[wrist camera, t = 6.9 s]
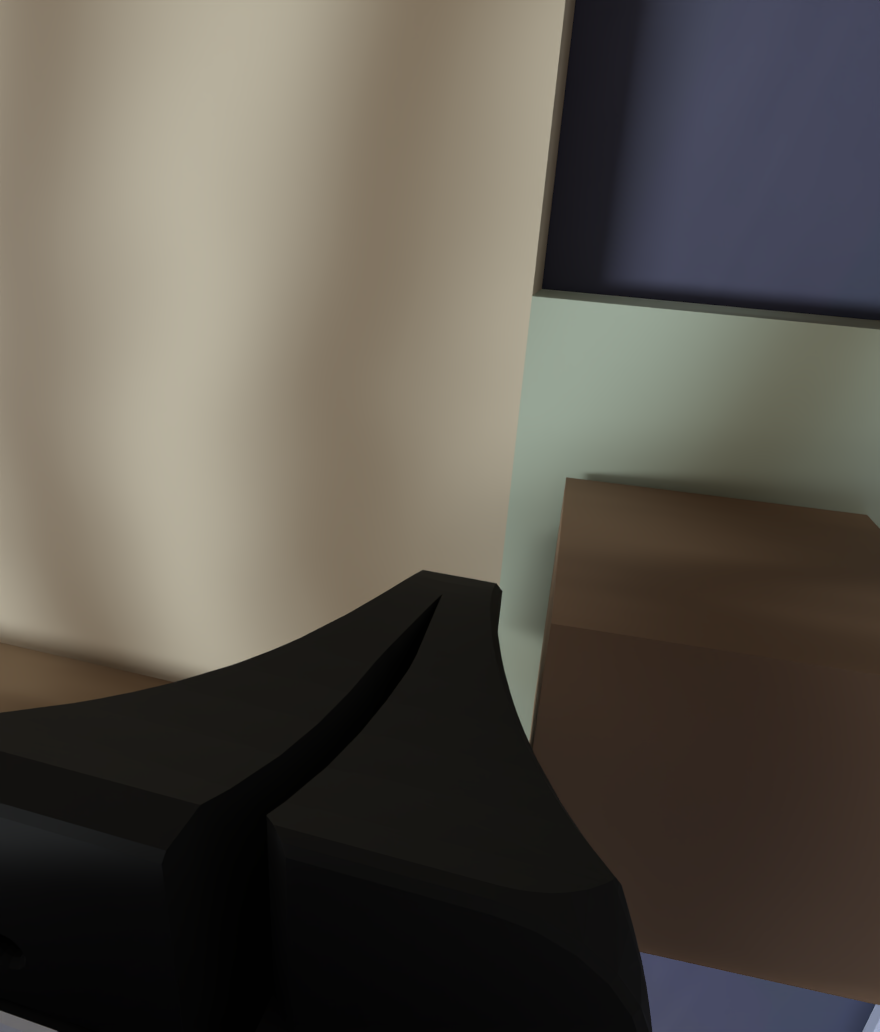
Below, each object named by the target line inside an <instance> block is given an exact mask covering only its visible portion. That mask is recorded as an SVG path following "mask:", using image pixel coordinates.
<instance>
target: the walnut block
mask: <svg viewBox="0 0 880 1032" xmlns="http://www.w3.org/2000/svg"><path fill="white" fill-rule="evenodd" d="M529 743H530V745H531V747H532V750H533V752H534V754H535V756H536V758H537V760H538V762H539V764H540V765H541V767H542V769H543V771H544V773H545V774H546V776H547V778H548V780H549V782H550V784H551V785H552V787H553V789H554V791H555V793H556V794H557V796H558V798H559V800H560V802H561V803H562V805H563V806H564V808H565V809H566V811H567V812H568V814H569V815H570V817H571V818H572V820H573V821H574V823H575V824H576V826H577V827H578V829H579V830H580V832H581V833H582V835H583V836H584V838H585V839H586V840H587V842H588V843H589V844H590V846H591V847H592V848H593V850H594V851H595V852H596V853H597V855H598V856H599V857H600V858H601V860H602V861H603V862H604V863H605V865H606V866H607V867H608V868H609V870H610V871H611V872H612V873H613V875H614V876H615V877H616V878H617V880H618V881H619V882H620V883H621V885H622V888H623V891H624V895H625V898H626V902H627V905H628V909H629V913H630V916H631V920H632V923H633V927H634V931H635V935H636V939H637V943H638V948H639V952H643V953H648V954H652V955H657V956H661V957H666V958H670V959H675V960H679V961H684V962H688V963H693V964H697V965H702V966H706V967H710V968H715V969H719V970H724V971H728V972H733V973H737V974H742V975H746V976H751V977H755V978H760V979H764V980H769V981H773V982H778V983H782V984H787V985H791V986H796V987H800V988H805V989H809V990H814V991H818V992H823V993H827V994H832V995H836V996H841V997H845V998H850V999H854V1000H859V1001H863V1002H868V1003H872V1004H877V1005H880V528H879V527H878V526H877V525H876V524H875V523H874V522H873V521H872V520H871V519H870V517H869V516H868V515H864V514H856V513H848V512H840V511H832V510H824V509H816V508H808V507H800V506H792V505H784V504H776V503H768V502H760V501H752V500H744V499H736V498H728V497H720V496H712V495H704V494H696V493H688V492H680V491H672V490H664V489H656V488H648V487H640V486H632V485H624V484H616V483H608V482H600V481H592V480H584V479H576V478H568V477H566V482H565V489H564V496H563V503H562V510H561V517H560V524H559V531H558V538H557V545H556V552H555V559H554V566H553V573H552V580H551V587H550V594H549V601H548V608H547V615H546V622H545V629H544V636H543V643H542V650H541V657H540V664H539V671H538V678H537V685H536V692H535V699H534V707H533V715H532V723H531V731H530V740H529Z"/></svg>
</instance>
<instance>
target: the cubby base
mask: <svg viewBox="0 0 880 1032" xmlns="http://www.w3.org/2000/svg"><path fill="white" fill-rule="evenodd" d="M575 1H576V0H0V713H1V712H9V711H17V710H24V709H32V708H39V707H47V706H55V705H62V704H70V703H76V702H82V701H88V700H94V699H100V698H105V697H110V696H115V695H120V694H125V693H130V692H135V691H139V690H143V689H148V688H152V687H156V686H161V685H165V684H169V683H173V682H176V681H180V680H183V679H186V678H190V677H193V676H196V675H200V674H203V673H207V672H210V671H213V670H217V669H220V668H223V667H227V666H230V665H233V664H236V663H239V662H242V661H245V660H247V659H250V658H252V657H255V656H258V655H260V654H263V653H265V652H268V651H271V650H273V649H276V648H278V647H280V646H283V645H285V644H287V643H290V642H292V641H294V640H296V639H299V638H301V637H303V636H305V635H307V634H309V633H311V632H313V631H315V630H317V629H318V628H320V627H322V626H324V625H326V624H328V623H330V622H332V621H334V620H336V619H338V618H340V617H342V616H344V615H346V614H348V613H350V612H351V611H353V610H355V609H357V608H358V607H360V606H362V605H364V604H365V603H367V602H369V601H370V600H372V599H374V598H376V597H377V596H379V595H381V594H382V593H384V592H386V591H387V590H389V589H391V588H392V587H394V586H396V585H397V584H399V583H401V582H402V581H404V580H406V579H407V578H409V577H411V576H412V575H414V574H416V573H418V572H420V571H422V570H427V571H432V572H438V573H443V574H449V575H454V576H460V577H465V578H471V579H476V580H482V581H487V582H493V583H497V585H498V586H499V587H500V589H501V590H502V600H501V609H500V617H499V626H498V637H499V644H500V650H501V656H502V661H503V666H504V671H505V674H506V678H507V682H508V686H509V689H510V693H511V696H512V699H513V702H514V705H515V708H516V711H517V714H518V716H519V719H520V722H521V724H522V727H523V729H524V732H525V734H526V736H527V738H528V741H529V740H530V731H531V723H532V715H533V707H534V699H535V692H536V685H537V678H538V671H539V664H540V657H541V650H542V643H543V636H544V629H545V622H546V615H547V608H548V601H549V594H550V587H551V580H552V573H553V566H554V559H555V552H556V545H557V538H558V531H559V524H560V517H561V510H562V503H563V496H564V489H565V482H566V477H568V478H576V479H584V480H592V481H600V482H608V483H616V484H624V485H632V486H640V487H648V488H656V489H664V490H672V491H680V492H688V493H696V494H704V495H712V496H720V497H728V498H736V499H744V500H752V501H760V502H768V503H776V504H784V505H792V506H800V507H808V508H816V509H824V510H832V511H840V512H848V513H856V514H864V515H868V516H869V517H870V519H871V520H872V521H873V522H874V523H875V524H876V525H877V526H878V527H879V528H880V321H879V320H868V319H858V318H847V317H836V316H826V315H815V314H804V313H794V312H783V311H772V310H762V309H751V308H740V307H730V306H719V305H708V304H698V303H687V302H676V301H666V300H655V299H644V298H634V297H623V296H612V295H602V294H591V293H580V292H570V291H559V290H548V289H542V282H543V273H544V265H545V256H546V248H547V239H548V231H549V222H550V214H551V205H552V197H553V188H554V180H555V171H556V163H557V154H558V146H559V137H560V129H561V120H562V112H563V103H564V95H565V86H566V78H567V69H568V61H569V52H570V43H571V35H572V26H573V18H574V9H575Z"/></svg>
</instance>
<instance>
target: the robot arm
mask: <svg viewBox="0 0 880 1032" xmlns="http://www.w3.org/2000/svg"><path fill="white" fill-rule="evenodd" d="M501 600H502V590H501V589H500V587H499V586H498V585H497V583H493V582H487V581H482V580H476V579H471V578H465V577H460V576H454V575H449V574H443V573H438V572H432V571H427V570H422V571H420V572H418V573H416V574H414V575H412V576H411V577H409V578H407V579H406V580H404V581H402V582H401V583H399V584H397V585H396V586H394V587H392V588H391V589H389V590H387V591H386V592H384V593H382V594H381V595H379V596H377V597H376V598H374V599H372V600H370V601H369V602H367V603H365V604H364V605H362V606H360V607H358V608H357V609H355V610H353V611H351V612H350V613H348V614H346V615H344V616H342V617H340V618H338V619H336V620H334V621H332V622H330V623H328V624H326V625H324V626H322V627H320V628H318V629H317V630H315V631H313V632H311V633H309V634H307V635H305V636H303V637H301V638H299V639H296V640H294V641H292V642H290V643H287V644H285V645H283V646H280V647H278V648H276V649H273V650H271V651H268V652H265V653H263V654H260V655H258V656H255V657H252V658H250V659H247V660H245V661H242V662H239V663H236V664H233V665H230V666H227V667H223V668H220V669H217V670H213V671H210V672H207V673H203V674H200V675H196V676H193V677H190V678H186V679H183V680H180V681H176V682H173V683H169V684H165V685H161V686H156V687H152V688H148V689H143V690H139V691H135V692H130V693H125V694H120V695H115V696H110V697H105V698H100V699H94V700H88V701H82V702H76V703H70V704H62V705H55V706H47V707H39V708H32V709H24V710H17V711H9V712H1V713H0V1032H652V1026H651V1016H650V1008H649V1001H648V994H647V987H646V981H645V976H644V970H643V965H642V960H641V956H640V952H639V948H638V943H637V939H636V935H635V931H634V927H633V923H632V920H631V916H630V913H629V909H628V905H627V902H626V898H625V895H624V891H623V888H622V885H621V883H620V882H619V881H618V880H617V878H616V877H615V876H614V875H613V873H612V872H611V871H610V870H609V868H608V867H607V866H606V865H605V863H604V862H603V861H602V860H601V858H600V857H599V856H598V855H597V853H596V852H595V851H594V850H593V848H592V847H591V846H590V844H589V843H588V842H587V840H586V839H585V838H584V836H583V835H582V833H581V832H580V830H579V829H578V827H577V826H576V824H575V823H574V821H573V820H572V818H571V817H570V815H569V814H568V812H567V811H566V809H565V808H564V806H563V805H562V803H561V802H560V800H559V798H558V796H557V794H556V793H555V791H554V789H553V787H552V785H551V784H550V782H549V780H548V778H547V776H546V774H545V773H544V771H543V769H542V767H541V765H540V764H539V762H538V760H537V758H536V756H535V754H534V752H533V750H532V747H531V745H530V743H529V741H528V738H527V736H526V734H525V732H524V729H523V727H522V724H521V722H520V719H519V716H518V714H517V711H516V708H515V705H514V702H513V699H512V696H511V693H510V689H509V686H508V682H507V678H506V674H505V671H504V666H503V661H502V656H501V650H500V644H499V637H498V626H499V617H500V609H501ZM863 1032H880V1005H877V1004H876V1005H875V1007H874V1009H873V1011H872V1013H871V1015H870V1017H869V1019H868V1021H867V1023H866V1025H865V1028H864V1030H863Z"/></svg>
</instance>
